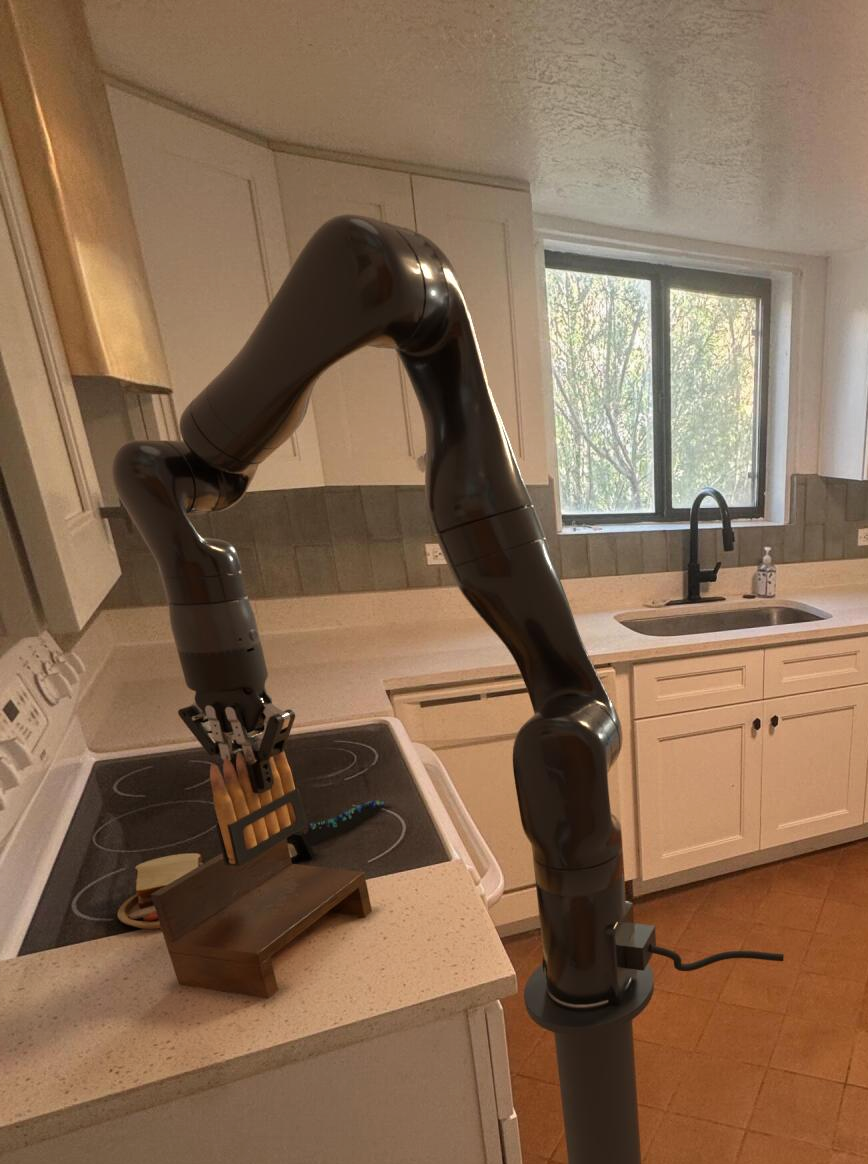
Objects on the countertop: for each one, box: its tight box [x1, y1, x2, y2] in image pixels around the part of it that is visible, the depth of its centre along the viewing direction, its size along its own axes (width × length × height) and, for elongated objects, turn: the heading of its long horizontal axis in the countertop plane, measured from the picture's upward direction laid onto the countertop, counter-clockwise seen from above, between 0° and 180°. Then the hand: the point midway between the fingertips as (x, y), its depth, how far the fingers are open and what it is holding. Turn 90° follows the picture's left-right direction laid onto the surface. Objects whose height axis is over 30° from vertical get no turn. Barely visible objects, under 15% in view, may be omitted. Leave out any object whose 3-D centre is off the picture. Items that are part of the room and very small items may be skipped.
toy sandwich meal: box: [117, 852, 203, 930], centre depth 105 cm, size 12×14×5 cm
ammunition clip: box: [209, 750, 308, 866], centre depth 90 cm, size 11×2×12 cm, turn 168°
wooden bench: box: [151, 838, 373, 999], centre depth 95 cm, size 12×18×12 cm, turn 168°
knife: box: [286, 799, 387, 860], centre depth 119 cm, size 31×3×4 cm, turn 162°
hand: (255, 789), depth 89 cm, fingers closed on ammunition clip, 1 cm apart
